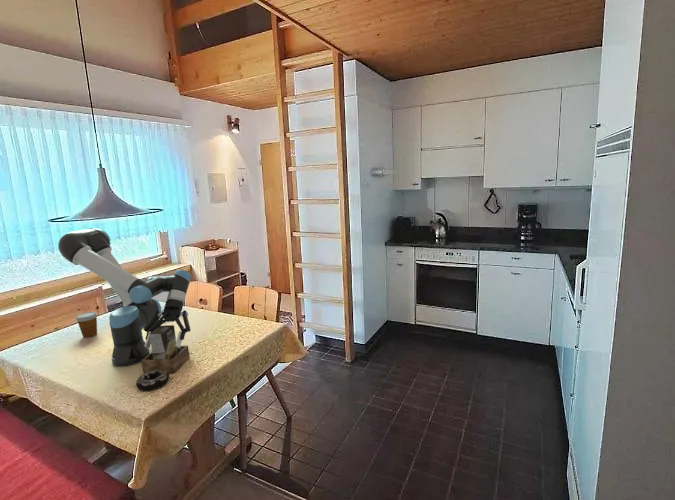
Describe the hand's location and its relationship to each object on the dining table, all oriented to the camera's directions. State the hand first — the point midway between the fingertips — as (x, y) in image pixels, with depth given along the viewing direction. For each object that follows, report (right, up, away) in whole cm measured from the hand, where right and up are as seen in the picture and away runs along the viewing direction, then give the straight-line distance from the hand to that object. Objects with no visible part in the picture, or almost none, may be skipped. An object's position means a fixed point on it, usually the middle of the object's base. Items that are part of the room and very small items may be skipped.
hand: (162, 347), depth 155 cm
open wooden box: (+1, -9, +4) cm, 10 cm away
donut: (+2, -12, -10) cm, 16 cm away
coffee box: (0, -8, +4) cm, 9 cm away
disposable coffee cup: (-58, -5, +41) cm, 71 cm away
